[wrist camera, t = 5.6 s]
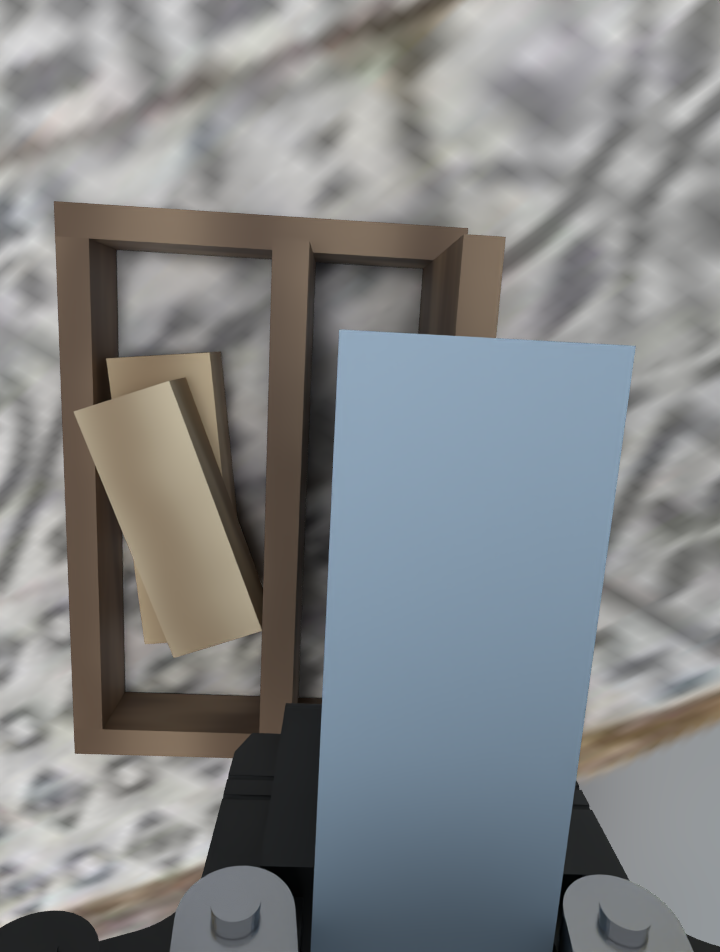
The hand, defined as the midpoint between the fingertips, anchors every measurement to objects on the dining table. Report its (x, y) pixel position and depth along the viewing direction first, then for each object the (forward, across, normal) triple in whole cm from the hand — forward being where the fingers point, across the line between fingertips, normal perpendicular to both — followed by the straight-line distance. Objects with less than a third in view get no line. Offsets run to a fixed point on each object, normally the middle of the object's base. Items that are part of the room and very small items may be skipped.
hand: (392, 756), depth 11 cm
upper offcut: (+16, +7, 0) cm, 17 cm away
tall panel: (+12, 0, 0) cm, 12 cm away
